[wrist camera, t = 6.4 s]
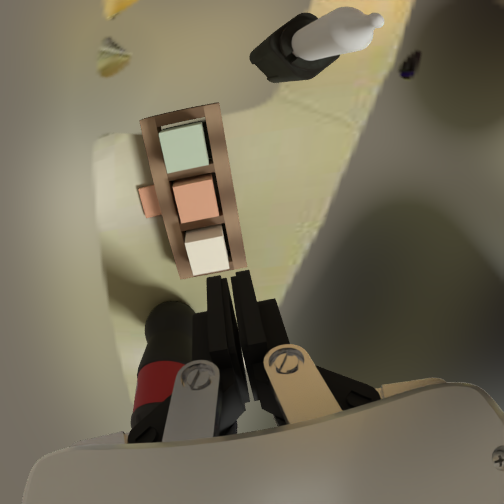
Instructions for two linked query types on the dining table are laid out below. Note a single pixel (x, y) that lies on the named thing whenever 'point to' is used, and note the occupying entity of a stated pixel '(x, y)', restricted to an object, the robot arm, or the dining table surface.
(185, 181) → the terracotta button
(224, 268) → the cream button
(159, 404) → the robot arm
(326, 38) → the candle
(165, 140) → the sage button
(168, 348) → the cola bottle
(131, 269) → the dining table surface
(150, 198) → the tile
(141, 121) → the walnut console
